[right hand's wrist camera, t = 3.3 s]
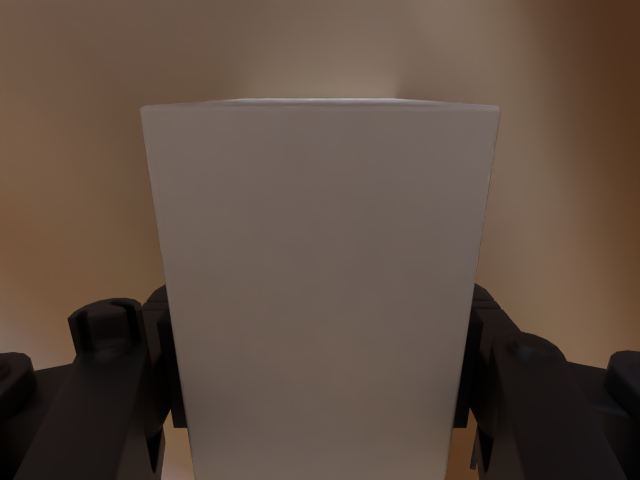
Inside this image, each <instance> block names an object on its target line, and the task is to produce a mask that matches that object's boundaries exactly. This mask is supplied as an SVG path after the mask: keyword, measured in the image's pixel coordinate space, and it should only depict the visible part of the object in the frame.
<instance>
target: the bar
mask: <svg viewBox="0 0 640 480" xmlns="http://www.w3.org/2000/svg"><path fill="white" fill-rule="evenodd" d="M140 117H141V124H142V130H143V137H144V144H145V150H146V157H147V164H148V170H149V177H150V183H151V190H152V197H153V203H154V210H155V217H156V223H157V230H158V237H159V243H160V250H161V256H162V263H163V270H164V276H165V283H166V290H167V296H168V303H169V310H170V316H171V323H172V329H173V336H174V343H175V349H176V356H177V363H178V369H179V376H180V382H181V389H182V396H183V402H184V409H185V416H186V422H187V429H188V436H189V442H190V449H191V455H192V462H193V469H194V475H195V480H445V477H446V470H447V463H448V457H449V450H450V443H451V437H452V430H453V423H454V417H455V410H456V404H457V397H458V390H459V384H460V377H461V370H462V364H463V357H464V350H465V344H466V337H467V330H468V324H469V317H470V310H471V304H472V297H473V291H474V284H475V277H476V271H477V264H478V257H479V251H480V244H481V237H482V231H483V224H484V217H485V211H486V204H487V197H488V191H489V184H490V178H491V171H492V164H493V158H494V151H495V144H496V138H497V131H498V124H499V118H500V108H499V107H498V106H496V105H486V104H470V103H455V102H439V101H423V100H408V99H233V100H217V101H202V102H187V103H171V104H156V105H145V106H143V107H141V108H140Z"/></svg>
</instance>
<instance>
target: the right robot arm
mask: <svg viewBox="0 0 640 480" xmlns="http://www.w3.org/2000/svg"><path fill="white" fill-rule="evenodd" d="M68 323H69V327H70V331H71V335H72V338H73V342H74V346H75V350H76V354H77V355H76V357H75V359H74V361H73V363H71V364H67V365H63V366H58V367H52V368H47V369H42V370H37V371H34V369H33V365H32V362H31V359H30V357H28V356H27V355H25V354H24V353H16V352H10V353H0V480H161V473H162V466H163V458H164V450H165V436H164V430H163V424H164V422H165V419H166V417H167V415H168V413H169V411H170V409H171V413H172V419H173V425H174V428H187V422H186V416H185V409H184V402H183V396H182V389H181V382H180V376H179V369H178V363H177V356H176V349H175V343H174V336H173V329H172V323H171V316H170V310H169V303H168V296H167V290H166V285H164V286H162V287H160V288H159V289H157V290H155V291H154V292H153V294H152V295H151V296H150V297H149V298H148V300H147V303H144V304H143V306H141V303H139V302H138V301H136V300H134V299H129V298H111V299H106V300H101V301H97V302H94V303H91V304H88V305H86V306H84V307H82V308H80V309H78V310H77V311H75V312H74V313H73V314H72V315H71V316H70V317H69V318H68ZM470 408H471V410H472V413H473V415H474V417H475V419H476V421H477V423H478V424H477V430H476V435H475V441H474V447H473V452H472V458H471V464H470V469H474V470H475V469H476V463H477V465H478V472H479V480H640V352H638V351H629V350H627V351H619V352H616V353H614V354H613V355H612V356H611V357H610V360H609V363H608V366H607V369H603V368H597V367H592V366H587V365H582V364H576V363H572V362H568V361H567V360H566V358H565V356H564V355H563V353H562V352H561V351H560V350H559V349H558V347H557V346H555V345H554V344H552V343H551V342H549V341H548V340H546V339H544V338H541V337H539V336H536V335H534V334H529V333H525V332H521V331H520V330H519V328H518V327H517V326H516V325H515V324H514V322H513V321H512V320H511V319H510V318H509V317H508V315H507V314H506V313H505V312H504V311H503V309H501V307H500V306H499V305H498V304H497V302H496V301H494V299H493V298H492V296H491V295H490V294H489V293H488V292H487V290H486V289H484V288H482V287H481V286H479V285H477V284H474V291H473V297H472V304H471V310H470V317H469V324H468V330H467V337H466V344H465V350H464V357H463V364H462V370H461V377H460V384H459V390H458V397H457V404H456V410H455V417H454V423H453V428H466V427H467V421H468V415H469V409H470Z"/></svg>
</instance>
